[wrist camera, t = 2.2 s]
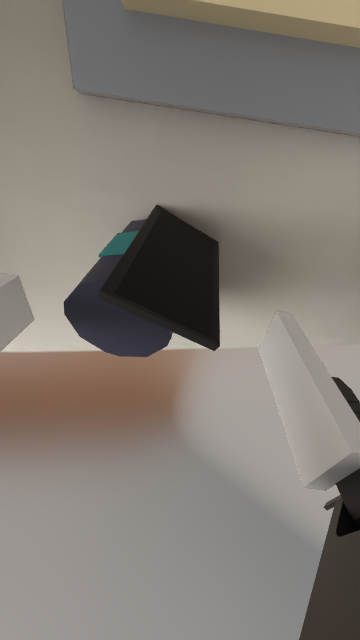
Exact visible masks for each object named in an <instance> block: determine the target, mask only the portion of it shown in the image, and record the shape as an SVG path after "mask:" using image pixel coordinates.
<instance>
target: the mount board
mask: <svg viewBox="0 0 360 640" xmlns="http://www.w3.org/2000/svg"><path fill="white" fill-rule="evenodd" d="M63 7H64V15H65V23H66V31H67V39H68V47H69V55H70V63H71V71H72V79H73V88H74V89H75V90H76V91H78V92H80V93H81V94H87V95H93V96H100V97H106V98H113V99H119V100H126V101H132V102H139V103H145V104H152V105H158V106H165V107H171V108H178V109H184V110H191V111H197V112H204V113H211V114H217V115H224V116H230V117H237V118H243V119H250V120H256V121H263V122H269V123H276V124H282V125H289V126H295V127H302V128H308V129H315V130H321V131H328V132H334V133H341V134H347V135H354V136H360V0H63Z"/></svg>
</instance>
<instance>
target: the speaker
mask: <svg viewBox="0 0 360 640" xmlns="http://www.w3.org/2000/svg"><path fill="white" fill-rule="evenodd" d="M99 257H101V258H100V259H99V260H98V262H97V263H96V264H95V265H94V266H93V268H92V269H91V270H90V271H89V272H88V274H87V275H86V276H85V277H84V278H83V280H82V281H81V282H80V283H79V284H78V286H77V287H76V288H75V289H74V291H73V292H72V293H71V294H70V295H69V297H68V298H67V299H66V300H65V301H64V313H65V316H66V317H67V319H68V320H69V321H70V323H71V324H72V326H73V327H74V329H75V330H76V332H77V333H78V335H79V336H80V337H81V338H83V339H85V340H86V341H88V342H90V343H91V344H93V345H95V346H96V347H98V348H100V349H101V350H103V351H105V352H107V353H110V354H114V355H117V356H133V357H134V356H135V357H148V356H149V355H151V354H153V353H155V352H157V351H159V350H161V349H163V348H164V347H166V346H167V345H168V343H169V341H170V339H171V337H172V333H173V332H174V333H176V334H178V335H180V336H182V337H185V338H187V339H189V340H191V341H193V342H196V343H198V344H200V345H202V346H204V347H207V348H209V349H211V350H213V351H215V350H216V349H217V348H218V347H220V324H219V246H218V242H217V241H215V240H214V239H212V238H211V237H209V236H207V235H206V234H204V233H202V232H201V231H199V230H197V229H196V228H194V227H192V226H191V225H189V224H188V223H186V222H184V221H183V220H181V219H179V218H178V217H176V216H174V215H173V214H171V213H170V212H168V211H166V210H165V209H163V208H161V207H160V206H158V205H156V206H155V208H154V209H153V211H152V212H151V214H150V215H149V217H148V218H147V220H138V221H132V222H131V223H130V224H129V225H128V226H127V227H126V228H125V230H124V231H123V232H122V233H118V234H117V235H116V236H115V237H114V238H113V239H112V241H111V242H110V243H109V244H108V245H107V246H106V247H105V248H104V250H103V251H102V252H101V253H100V254H99Z"/></svg>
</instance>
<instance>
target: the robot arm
mask: <svg viewBox="0 0 360 640" xmlns="http://www.w3.org/2000/svg"><path fill="white" fill-rule="evenodd" d="M33 320H34V317H33V315H32V312H31V309H30V306H29V303H28V301H27V298H26V295H25V292H24V289H23V286H22V284H21V281H20V278H19V276H18V275H10V274H2V275H0V352H1V351H2V350H3V349H4V348H5V347H6V346H7V345H8V344H9V343H10V342H11V341H12V340H13V339H14V338H15V337H16V336H18V335H19V334H20V333H21V332H22V331H23V330H24V329H25V328H26V327H27V326H28V325H29V324H30V323H31V322H32V321H33ZM258 350H259V353H260V357H261V360H262V363H263V365H264V369H265V372H266V375H267V378H268V381H269V384H270V387H271V390H272V393H273V396H274V399H275V402H276V405H277V409H278V412H279V414H280V418H281V420H282V424H283V427H284V430H285V433H286V436H287V439H288V442H289V445H290V448H291V451H292V454H293V457H294V460H295V464H296V466H297V469H298V472H299V476H300V479H301V482H302V485H303V487H304V488H309V489H318V490H325V491H326V490H327V489H329V488H331V487H332V486H334V485H337V488H338V490H339V492H340V494H341V495H339V496H338V497H336V498H334V499H332V500H330V501H329V502H327V503H326V505H325V506H324V508H325V509H326V510H329V509H331V508H333V507H334V510H333V514H332V517H331V521H330V525H329V529H328V532H327V536H326V540H325V544H324V548H323V551H322V555H321V559H320V563H319V566H318V570H317V574H316V578H315V582H314V586H313V589H312V593H311V597H310V601H309V605H308V609H307V612H306V616H305V620H304V624H303V627H302V631H301V635H300V638H299V640H360V402H359V400H358V399H357V398H356V396H355V394H354V393H353V391H352V390H351V389H350V388H349V387H348V386H347V385H346V384H345V383H344V382H343V381H342V380H340V379H339V378H336V377H331V376H330V374H329V373H328V371H327V369H326V368H325V366H324V365H323V363H322V361H321V360H320V358H319V357H318V355H317V354H316V352H315V350H314V349H313V347H312V346H311V344H310V342H309V341H308V339H307V338H306V336H305V334H304V333H303V331H302V330H301V328H300V326H299V325H298V323H297V322H296V320H295V319H294V317H293V315H292V314H291V313H287V312H280V311H276V313H275V315H274V317H273V319H272V321H271V323H270V326H269V328H268V330H267V332H266V334H265V336H264V338H263V341H262V343H261V345H260V347H259V349H258Z"/></svg>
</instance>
